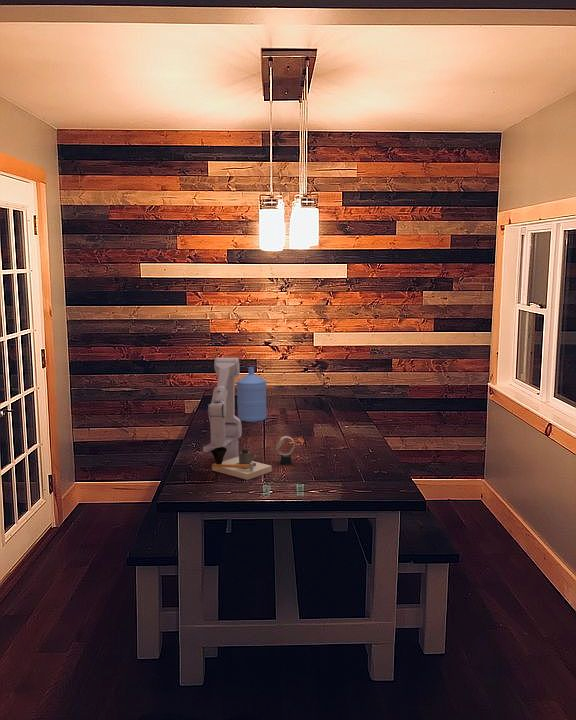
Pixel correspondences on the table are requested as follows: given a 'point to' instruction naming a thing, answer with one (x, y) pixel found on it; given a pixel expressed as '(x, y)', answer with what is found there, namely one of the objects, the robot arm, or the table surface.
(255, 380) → the water jug
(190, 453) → the table surface
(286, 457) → the watch
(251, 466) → the orange long bar
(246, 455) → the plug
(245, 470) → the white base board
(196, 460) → the table surface
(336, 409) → the table surface
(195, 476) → the table surface
